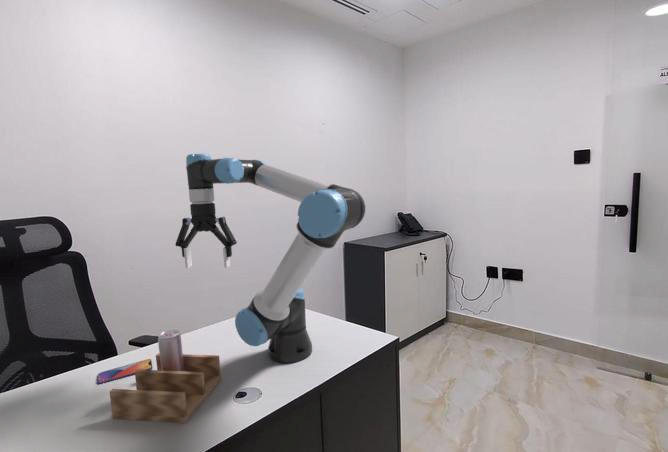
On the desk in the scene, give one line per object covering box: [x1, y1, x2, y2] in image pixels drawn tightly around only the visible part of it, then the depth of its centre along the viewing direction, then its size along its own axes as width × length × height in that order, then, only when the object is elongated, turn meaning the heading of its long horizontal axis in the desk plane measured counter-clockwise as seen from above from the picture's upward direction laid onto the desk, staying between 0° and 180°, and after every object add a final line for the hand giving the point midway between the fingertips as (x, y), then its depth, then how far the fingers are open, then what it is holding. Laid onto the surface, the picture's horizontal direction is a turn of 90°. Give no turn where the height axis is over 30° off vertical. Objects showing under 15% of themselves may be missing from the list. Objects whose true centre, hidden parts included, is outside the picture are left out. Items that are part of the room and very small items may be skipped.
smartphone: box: [96, 358, 154, 385], centre depth 112 cm, size 7×15×1 cm, turn 121°
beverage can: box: [157, 329, 184, 371], centre depth 101 cm, size 6×6×15 cm
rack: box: [109, 353, 222, 424], centre depth 97 cm, size 20×20×8 cm
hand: (208, 266), depth 115 cm, fingers open, 13 cm apart
